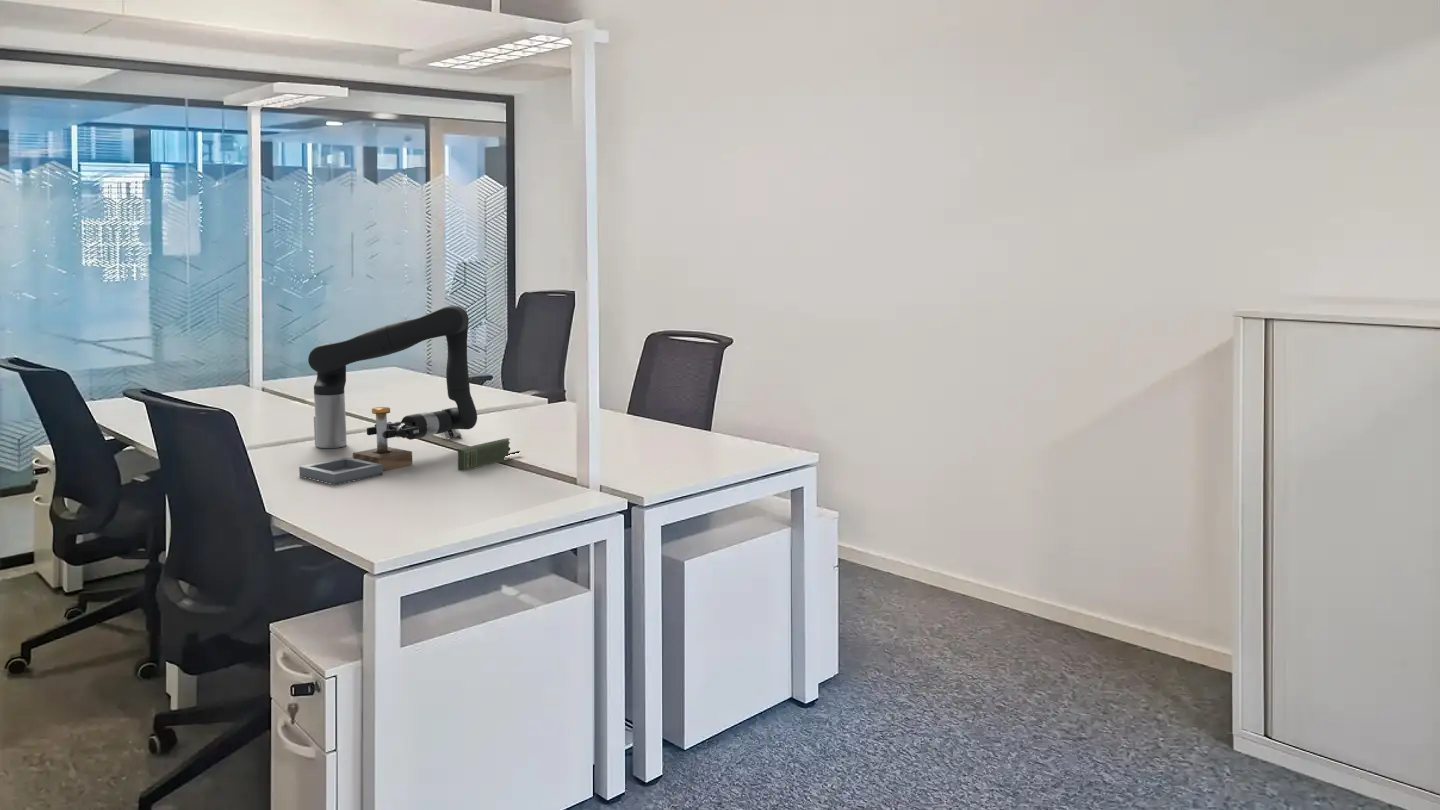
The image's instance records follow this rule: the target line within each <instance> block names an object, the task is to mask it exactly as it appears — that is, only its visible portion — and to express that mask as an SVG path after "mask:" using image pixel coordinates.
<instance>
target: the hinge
mask: <svg viewBox="0 0 1440 810" xmlns="http://www.w3.org/2000/svg"><path fill="white" fill-rule="evenodd" d="M445 409H446V408H443V409H441V411H442V410H445ZM443 434H444V436H445V438H446V439H447V438H452V437H454V438H456V437H458V436H459V438H460V437H462V434H461V432H460V430H459V429H452V430H448V431H447V432H444V433H443ZM451 436H452V437H451ZM462 438H463V437H462Z"/></svg>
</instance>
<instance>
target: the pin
mask: <svg viewBox="0 0 1440 810" xmlns="http://www.w3.org/2000/svg"><path fill="white" fill-rule="evenodd" d="M389 413H390V414H391V408H390V407H388V406H378V407H377V406H376V407H372V408H371V414H373V415H374V414H375V424H376V431H377V434H376V448H377V454H385V453H388V447H389V445H388V438H387V439H386V438H384V431H387V421H388V420H387V419H388V417H387V414H389Z"/></svg>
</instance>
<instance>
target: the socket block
mask: <svg viewBox="0 0 1440 810" xmlns="http://www.w3.org/2000/svg"><path fill="white" fill-rule="evenodd" d="M352 458H353V459H358V460H363V461H368V462H373V463H377V464H382V472H384V471H388V470H389V471H390V470H393V469H398V468H402V467H406V466H407V467H408V466H413V451H410V450H405V449H403V448H402V449H401V448H396V447H391V446H388V453H385V454H377V447H375V448H371V449H367V450H366V449H365V450H361V451H355V452H352Z"/></svg>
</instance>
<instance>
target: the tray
mask: <svg viewBox="0 0 1440 810" xmlns="http://www.w3.org/2000/svg"><path fill="white" fill-rule="evenodd" d="M298 470H299V477H300V476H302V477H306V478H305V479H307V478H311V479H315V480H319V481H318V482H320V481H323V482H322V483H324V482H327V483H326V484H328V483H331V484H330V485H332V484H337V485H340V484H339V483H342V484H345V483H344V482H346V483H349V482H348V481H351V482H354V481H353V480H356V481H359V480H358V479H360V480H363V479H364V478H365V479H369V478H368V477H370V478H374V477H379V476H383V475H384V474H383V473H384V471H382V464H377V463H373V462H368V461H363V460H358V459H353V457H347V456H346V457H340V458H336V459H331V460H326V461H321V462H316V463H311V464H310V463H309V464H304V465H300V466H299V467H298ZM382 474H383V475H382ZM378 475H379V476H378ZM373 476H374V477H373ZM302 477H301V478H302ZM311 479H310V480H311ZM365 479H364V480H365ZM315 480H314V481H315Z"/></svg>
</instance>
